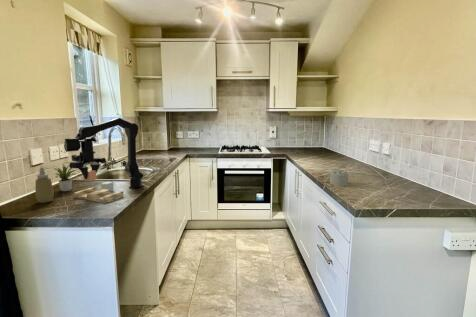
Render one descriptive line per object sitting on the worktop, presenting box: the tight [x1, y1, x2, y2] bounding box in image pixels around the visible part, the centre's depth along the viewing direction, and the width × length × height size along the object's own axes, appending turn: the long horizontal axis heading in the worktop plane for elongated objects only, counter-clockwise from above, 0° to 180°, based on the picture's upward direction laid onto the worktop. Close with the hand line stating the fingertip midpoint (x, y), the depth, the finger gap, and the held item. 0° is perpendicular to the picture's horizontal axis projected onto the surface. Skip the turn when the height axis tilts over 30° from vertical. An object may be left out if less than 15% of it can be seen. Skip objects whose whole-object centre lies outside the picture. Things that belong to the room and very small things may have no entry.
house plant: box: [52, 164, 77, 192], centre depth 164 cm, size 14×14×16 cm
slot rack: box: [74, 186, 124, 204], centre depth 152 cm, size 12×23×3 cm, turn 67°
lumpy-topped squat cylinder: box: [329, 169, 349, 187], centre depth 179 cm, size 10×13×9 cm
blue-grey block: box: [100, 181, 114, 192], centre depth 164 cm, size 4×4×5 cm
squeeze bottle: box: [35, 167, 55, 204], centre depth 143 cm, size 8×8×18 cm
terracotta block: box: [82, 169, 97, 182], centre depth 152 cm, size 4×4×5 cm
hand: (90, 178), depth 152 cm, fingers closed on terracotta block, 4 cm apart
